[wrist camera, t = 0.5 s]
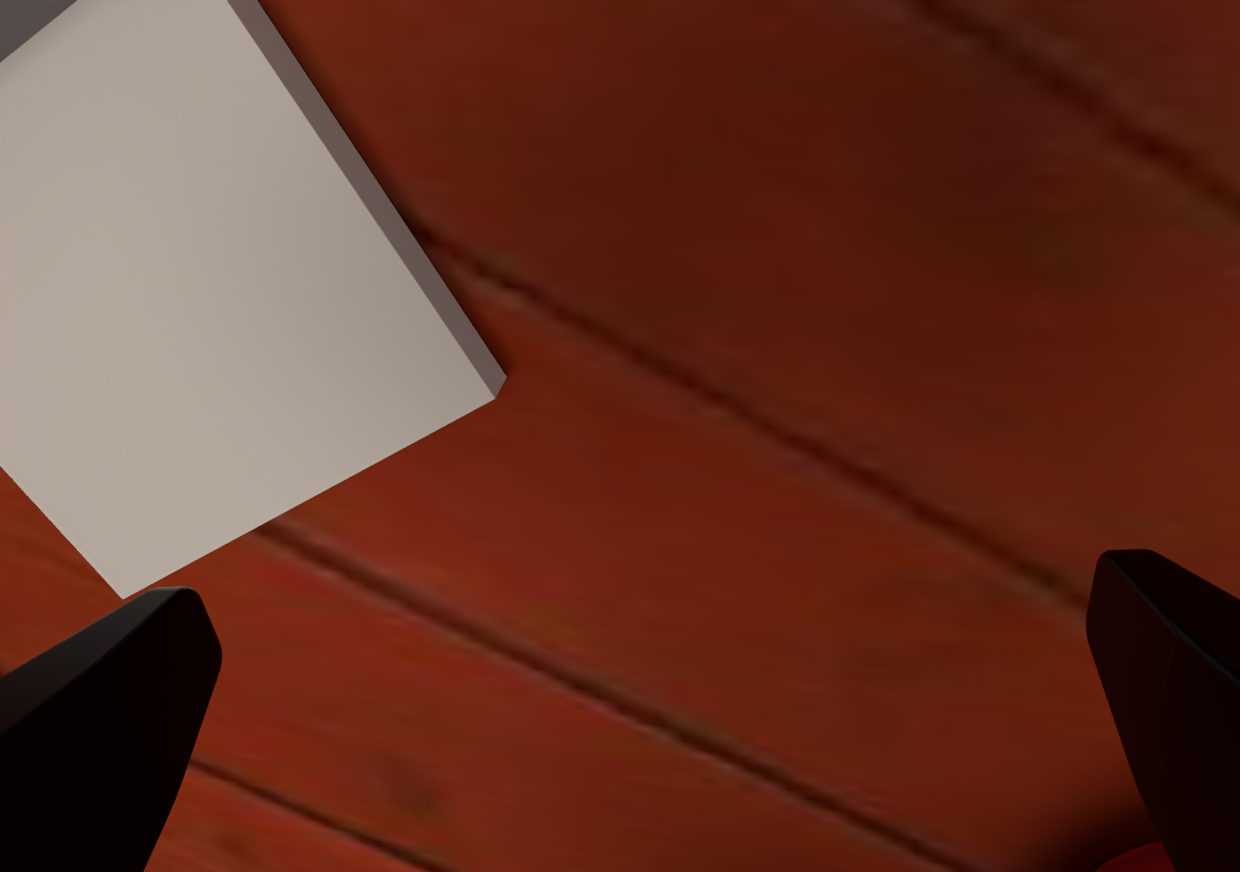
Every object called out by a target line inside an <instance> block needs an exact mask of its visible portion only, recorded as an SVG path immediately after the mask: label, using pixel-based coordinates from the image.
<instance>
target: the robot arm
mask: <svg viewBox="0 0 1240 872" xmlns="http://www.w3.org/2000/svg"><path fill="white" fill-rule="evenodd" d="M1086 634H1087V639H1088V643H1089V647H1090V650H1091V653H1092V656H1093V659H1094V662H1095V665H1096V668H1097V671H1098V674H1099V677H1100V680H1101V683H1102V685H1103V688H1104V691H1105V694H1106V697H1107V700H1108V703H1109V706H1110V709H1111V712H1112V715H1113V718H1114V721H1115V724H1116V727H1117V730H1118V733H1119V736H1120V739H1121V742H1122V745H1123V748H1124V751H1125V754H1126V757H1127V760H1128V763H1129V766H1130V769H1131V772H1132V775H1133V777H1134V780H1135V783H1136V786H1137V788H1138V791H1139V793H1140V795H1141V798H1142V800H1143V802H1144V805H1145V807H1146V809H1147V812H1148V814H1149V816H1150V818H1151V820H1152V823H1153V825H1154V827H1155V829H1156V831H1157V833H1158V835H1159V838H1160V840H1161V842H1162V844H1163V846H1164V848H1165V850H1166V852H1167V855H1168V857H1169V859H1170V861H1171V863H1172V865H1173V867H1174V870H1175V872H1240V599H1238V598H1236V597H1234V596H1233V595H1231V594H1229V593H1227V592H1226V591H1224V590H1222V589H1220V588H1219V587H1217V586H1215V585H1213V584H1211V583H1210V582H1208V581H1206V580H1204V579H1203V578H1201V577H1199V576H1197V575H1196V574H1194V573H1192V572H1190V571H1189V570H1187V569H1185V568H1183V567H1181V566H1180V565H1178V564H1176V563H1174V562H1173V561H1171V560H1169V559H1167V558H1166V557H1164V556H1162V555H1160V554H1158V553H1156V552H1154V551H1152V550H1149V549H1125V550H1108V551H1106V552H1104V553H1103V554H1101V555H1100V557H1099V559H1098V561H1097V564H1096V569H1095V574H1094V579H1093V584H1092V589H1091V594H1090V600H1089V605H1088V610H1087V615H1086ZM221 663H222V650H221V645H220V642H219V639H218V637H217V635H216V632H215V630H214V627H213V625H212V623H211V620H210V618H209V616H208V613H207V611H206V609H205V606H204V604H203V602H202V599H201V597H200V595H199V594H198V593H197V592H196V591H195V590H194V589H192V588H189V587H160V588H154V589H150V590H148V591H146V592H145V593H143V594H141V595H140V596H138V597H136V598H135V599H133V600H131V601H129V602H128V603H126V604H124V605H123V606H121V607H119V608H118V609H116V610H114V611H113V612H111V613H109V614H107V615H106V616H104V617H102V618H101V619H99V620H97V621H96V622H94V623H92V624H91V625H89V626H87V627H85V628H84V629H82V630H80V631H79V632H77V633H75V634H74V635H72V636H70V637H69V638H67V639H65V640H63V641H62V642H60V643H58V644H57V645H55V646H53V647H52V648H50V649H48V650H47V651H45V652H43V653H41V654H40V655H38V656H36V657H35V658H33V659H31V660H30V661H28V662H26V663H25V664H23V665H21V666H19V667H18V668H16V669H14V670H13V671H11V672H9V673H8V674H6V675H4V676H3V677H1V678H0V872H143V871H144V869H145V867H146V865H147V862H148V860H149V858H150V856H151V854H152V852H153V849H154V847H155V845H156V843H157V841H158V838H159V836H160V834H161V832H162V830H163V827H164V825H165V823H166V821H167V818H168V816H169V814H170V811H171V809H172V807H173V804H174V802H175V799H176V797H177V794H178V791H179V789H180V786H181V783H182V781H183V778H184V775H185V772H186V769H187V766H188V763H189V760H190V757H191V754H192V751H193V748H194V746H195V743H196V740H197V737H198V734H199V731H200V728H201V725H202V722H203V719H204V716H205V713H206V710H207V707H208V704H209V701H210V698H211V696H212V693H213V690H214V687H215V684H216V681H217V678H218V675H219V672H220V668H221Z"/></svg>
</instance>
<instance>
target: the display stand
mask: <svg viewBox="0 0 1240 872" xmlns="http://www.w3.org/2000/svg"><path fill="white" fill-rule="evenodd" d="M506 378H507V377H506V375H505V374H504V372H503V371H502V369H501V368H500V366H499V365H498V363H497V361H496V360H495V358H494V357H493V355H492V354H491V352H490V351H489V349H488V348H487V346H486V345H485V343H484V342H483V340H482V339H481V337H480V336H479V334H478V333H477V331H476V330H475V328H474V327H473V325H472V324H471V322H470V321H469V319H468V318H467V316H466V315H465V313H464V312H463V310H462V309H461V307H460V306H459V304H458V303H457V301H456V300H455V298H454V297H453V295H452V294H451V292H450V291H449V289H448V288H447V286H446V285H445V283H444V282H443V280H442V278H441V277H440V275H439V274H438V272H437V271H436V269H435V268H434V266H433V265H432V263H431V262H430V260H429V259H428V257H427V256H426V254H425V253H424V251H423V250H422V248H421V247H420V245H419V244H418V242H417V241H416V239H415V238H414V236H413V235H412V233H411V232H410V230H409V229H408V227H407V226H406V224H405V223H404V221H403V220H402V218H401V217H400V215H399V214H398V212H397V211H396V209H395V208H394V206H393V205H392V203H391V202H390V200H389V198H388V197H387V195H386V194H385V192H384V191H383V189H382V188H381V186H380V185H379V183H378V182H377V180H376V179H375V177H374V176H373V174H372V173H371V171H370V170H369V168H368V167H367V165H366V164H365V162H364V161H363V159H362V158H361V156H360V155H359V153H358V152H357V150H356V149H355V147H354V146H353V144H352V143H351V141H350V140H349V138H348V137H347V135H346V134H345V132H344V131H343V129H342V128H341V126H340V125H339V123H338V122H337V120H336V119H335V117H334V115H333V114H332V112H331V111H330V109H329V108H328V106H327V105H326V103H325V102H324V100H323V99H322V97H321V96H320V94H319V93H318V91H317V90H316V88H315V87H314V85H313V84H312V82H311V81H310V79H309V78H308V76H307V75H306V73H305V72H304V70H303V69H302V67H301V66H300V64H299V63H298V61H297V60H296V58H295V57H294V55H293V54H292V52H291V51H290V49H289V48H288V46H287V45H286V43H285V42H284V40H283V39H282V37H281V36H280V34H279V32H278V31H277V29H276V28H275V26H274V25H273V23H272V22H271V20H270V19H269V17H268V16H267V14H266V13H265V11H264V10H263V8H262V7H261V5H260V4H259V2H258V1H257V0H0V466H1V467H2V468H3V469H4V470H5V472H6V473H7V474H8V475H9V476H10V477H11V478H12V479H13V480H14V481H15V482H16V484H17V485H18V486H19V487H20V488H21V489H22V490H23V491H24V492H25V493H26V494H27V496H28V497H29V498H30V499H31V500H32V501H33V502H34V503H35V504H36V505H37V506H38V508H39V509H40V510H41V511H42V512H43V513H44V514H45V515H46V516H47V517H48V518H49V520H50V521H51V522H52V523H53V524H54V525H55V526H56V527H57V528H58V529H59V530H60V532H61V533H62V534H63V535H64V536H65V537H66V538H67V539H68V540H69V541H70V542H71V544H72V545H73V546H74V547H75V548H76V549H77V550H78V551H79V552H80V553H81V554H82V556H83V557H84V558H85V559H86V560H87V561H88V562H89V563H90V564H91V565H92V566H93V568H94V569H95V570H96V571H97V572H98V573H99V574H100V575H101V576H102V577H103V578H104V580H105V581H106V582H107V583H108V584H109V585H110V586H111V587H112V588H113V589H114V590H115V592H116V593H117V594H118V595H119V596H120V597H121V598H122V599H124V598H126V597H128V596H130V595H132V594H134V593H136V592H137V591H139V590H141V589H143V588H145V587H147V586H149V585H150V584H152V583H154V582H156V581H158V580H160V579H162V578H163V577H165V576H167V575H169V574H171V573H173V572H175V571H176V570H178V569H180V568H182V567H184V566H186V565H188V564H189V563H191V562H193V561H195V560H197V559H199V558H200V557H202V556H204V555H206V554H208V553H210V552H212V551H213V550H215V549H217V548H219V547H221V546H223V545H225V544H226V543H228V542H230V541H232V540H234V539H236V538H238V537H239V536H241V535H243V534H245V533H247V532H249V531H251V530H252V529H254V528H256V527H258V526H260V525H262V524H264V523H265V522H267V521H269V520H271V519H273V518H275V517H277V516H278V515H280V514H282V513H284V512H286V511H288V510H290V509H291V508H293V507H295V506H297V505H299V504H301V503H303V502H304V501H306V500H308V499H310V498H312V497H314V496H316V495H317V494H319V493H321V492H323V491H325V490H327V489H329V488H330V487H332V486H334V485H336V484H338V483H340V482H342V481H343V480H345V479H347V478H349V477H351V476H353V475H354V474H356V473H358V472H360V471H362V470H364V469H366V468H367V467H369V466H371V465H373V464H375V463H377V462H379V461H380V460H382V459H384V458H386V457H388V456H390V455H392V454H393V453H395V452H397V451H399V450H401V449H403V448H405V447H406V446H408V445H410V444H412V443H414V442H416V441H418V440H419V439H421V438H423V437H425V436H427V435H429V434H431V433H432V432H434V431H436V430H438V429H440V428H442V427H444V426H445V425H447V424H449V423H451V422H453V421H455V420H457V419H458V418H460V417H462V416H464V415H466V414H468V413H470V412H471V411H473V410H475V409H477V408H479V407H481V406H483V405H484V404H486V403H488V402H490V401H492V400H494V399H495V398H496V396H497V394H498V393H499V391H500V389H501V387H502V385H503V383H504V382H505V380H506Z"/></svg>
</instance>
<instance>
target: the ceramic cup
mask: <svg viewBox="0 0 1240 872" xmlns="http://www.w3.org/2000/svg"><path fill="white" fill-rule="evenodd" d="M1094 872H1175V870H1174V867H1173V865H1172V863H1171V861H1170V859H1169V857H1168V855H1167V852H1166V850H1165V848H1164V846H1163V844H1162V842H1161V841H1160V842H1155V843H1151V844H1146V845H1143V846H1140V847H1137V848H1134V849H1132V850H1129V851H1126V852H1124V853H1122V854H1120V855H1118V856H1116V857H1115V858H1113V859H1111V860H1109V861H1107V862H1106V863H1104V864H1103V865H1102V866H1100V867H1099V868H1098V869H1097V870H1095V871H1094Z"/></svg>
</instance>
